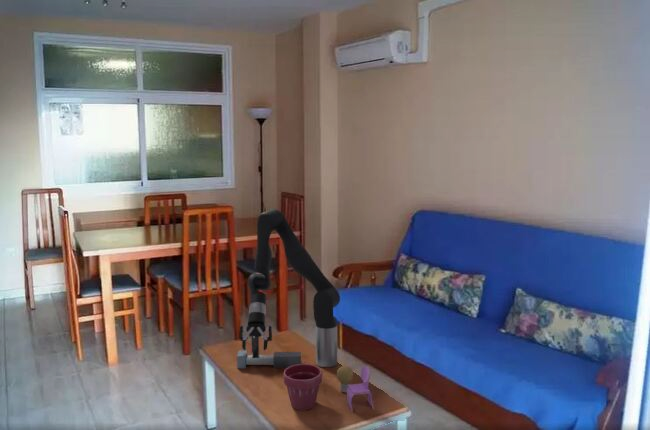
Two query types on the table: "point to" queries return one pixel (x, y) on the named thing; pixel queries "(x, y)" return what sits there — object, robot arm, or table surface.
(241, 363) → the socket
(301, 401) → the plant pot
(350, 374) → the light bulb
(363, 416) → the table surface
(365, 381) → the toy chair
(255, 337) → the block with knob
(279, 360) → the sleeve
